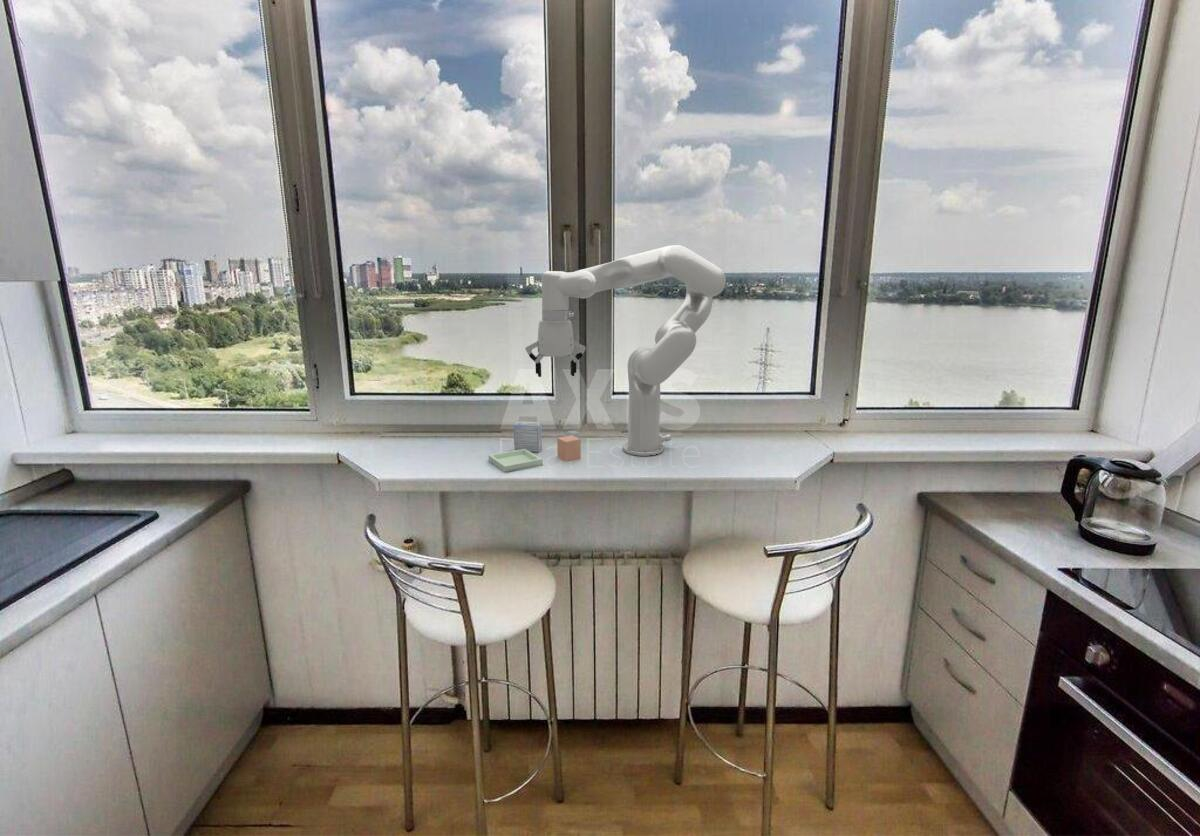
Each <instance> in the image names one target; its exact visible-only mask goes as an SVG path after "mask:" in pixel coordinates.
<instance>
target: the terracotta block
mask: <svg viewBox="0 0 1200 836" xmlns="http://www.w3.org/2000/svg"><path fill="white" fill-rule="evenodd" d="M556 438H557V439H556V440H557V441H556V442H557V446H556V447H557V458H559V459H561V460H562V461H564V462H570V461H576V460H580V459H581V458H582V457H581V449H582V448H581V443H582V442H581V441H582V439H580V437H579V438H577V437H575V436H572V435H571V436H566V435H565V436H560V437H556Z"/></svg>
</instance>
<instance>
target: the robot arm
mask: <svg viewBox="0 0 1200 836" xmlns="http://www.w3.org/2000/svg"><path fill="white" fill-rule="evenodd" d="M671 277H674V278H675V279H676V280H679V282H682V283H683V284H684V285H685V293H686V294H685V298H684V301H683V303H682V304H681V305H680V306H679V308H678V309H677V310H676V311H675V312H674V313H673V314H672V315H671V316H670V317H669V318H668V319H667V320H666V321H665V322H664V323H663V324H662V325H661V326H660V327H659V328H658V329H657V330H656V332H655V336H654V341H655V344H654V346H653V347H652V348H650V347H645V346H644V347H639V348H637V349H635V350H633V351H632V353H631V354H630V355H629V357H628V360H627V377H628V412H627V413H628V417H627V418H628V419H627V420H628V425H627V442H625V443H624V444H623V445H622V450H623V451H624V453H626V454H628V455H632V456H639V457H650V455H652V456H656V454H657V455H660V454H662V453H663V452H664V449H665V447H664V445H663V443H664V442H668V441H669V442H670V441H671V440H672V435H670V434H665V435H663V434H662V433H661V434H660V419H661V418H660V417H661V416H660V414H661V384H663V383H665V382H666V380H668V379H669V378H670V377H671V376H672V375H673V374H674V373H675V372H676V371H677V370H678V369H679V368H680V367H681V366H682V365H683V364H684V363H685V362H686V360H687V359H688V358H689V357H690V356H691V355H692V354H693V352H694V350H695V348H696V345H697V334H696V333H697V332H698V330H699V329H700V328H702V326H703V325H704V324H705V322H706V321H707V320H708V318H709V316H710V315H711V312H712V308H713V297H716V296H719V295H720V294H721V293H722V292H723V290H724V289H725V287H726V283H727V282H726V281H727V279H726V275H725V273H724V271H723V270H722V269H721V268H720V267H719V266H717V265H716V264H714V263H712V262H711V261H709V260H707V259H705V258H704V257H703V256H701V255H699V254H697V253H696V252H694V251H693V250H691V249H689V248H687V247H685V246H684V245H680V244H674V245H666V246H664V247H663V246H662V247H659V248H658V247H657V248H654V249H651V250H646V251H643V252H640V253H636V254H631V255H627V256H624V257H621V258H618V259H615V260H613V261H610V262H606V263H602V264H598V265H594V266H591V267H587V268H583V269H578V270H575V271H571V272H566V271H561V270H559V271H558V270H552V271H551V270H550V271H549V270H547V271H544V272H543V273H542V274H541V309H542V310H541V315H542V316H541V320H539V322H538V328H537V330H538V331H537V341H535V342H533V343H531V344H529V345H527V346H526V347H525V348H524V349H525V351H526V353H527V355H528V357H529V358H530V359H531V360H532V361H533V362H534V363H535V375H537V377H539V378H541V377H542V363H541V361H542V359H543V358H545V357H550V358H551V357H553V358H554V357H569V358H570V359H571V361H570V375H571V376H572V377H575V374H576V373H577V362H578V361H579V360H581V358H582V357H583V355H584V353H585V351H586V349H587V348H586V346H585V345H582V344H581V343H579V342H578V341H575V340H574V332H573V325H572V321H571V320H570V318H572V317H573V318H574V317H575V312H574V311H571V310H569V308H570V305H569V304H570V303H569V302H570V301H569V300H570V298H577V299H588V298H590V297H592V296H593V295H595V293H599V292H603V291H607V290H612V289H627V288H633V287H637V286H641V285H644V284H648V283H652V282H655V281H659V280H663V279H666V278H671ZM575 347H576V348H577V349H579V351H578V352H577V353H576V354H575V355H574V353H575V352H574V351H575ZM536 348H537V353H538V354H537V355H535V354H534V353H533V351H532V350H534V349H536Z"/></svg>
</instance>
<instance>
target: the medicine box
mask: <svg viewBox="0 0 1200 836" xmlns="http://www.w3.org/2000/svg"><path fill="white" fill-rule="evenodd" d="M542 431H543V430H542V422H541V421H516V422H515V423H514V424H513V444H514V445H513V446H514V447H513V451H514V450H520V449H526V450H528V451H530V452H531V453H540V452H541V451H542V450H543V449H542V448H543V438H542V437H543V436H542V435H543V434H542Z"/></svg>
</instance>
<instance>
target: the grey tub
mask: <svg viewBox="0 0 1200 836" xmlns="http://www.w3.org/2000/svg"><path fill="white" fill-rule="evenodd" d="M565 433H566V435H565V436H571V435H572V436H575V437H577V438H579V439H580V431H578V430H567V431H566V432H565Z"/></svg>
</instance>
